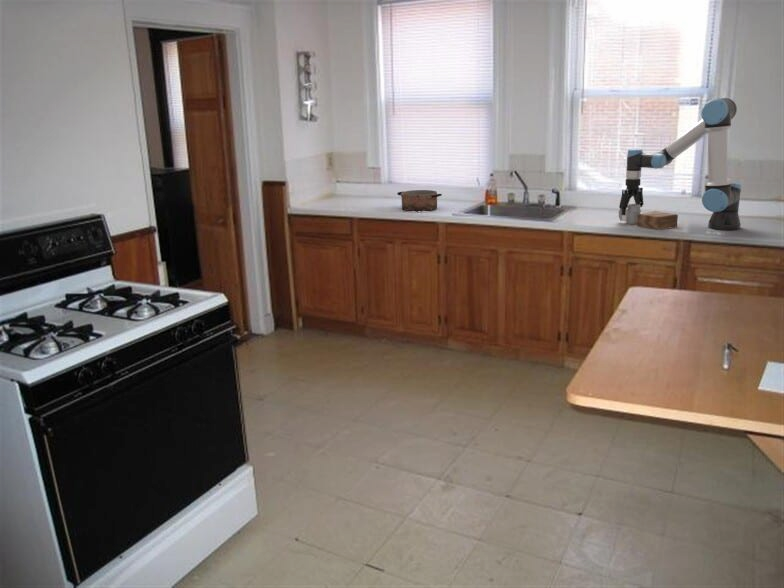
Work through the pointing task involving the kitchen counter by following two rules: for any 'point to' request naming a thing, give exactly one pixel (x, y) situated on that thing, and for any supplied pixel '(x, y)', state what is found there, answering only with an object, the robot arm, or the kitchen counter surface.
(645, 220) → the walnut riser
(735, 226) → the robot arm
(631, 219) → the mug
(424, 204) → the cooking pot
